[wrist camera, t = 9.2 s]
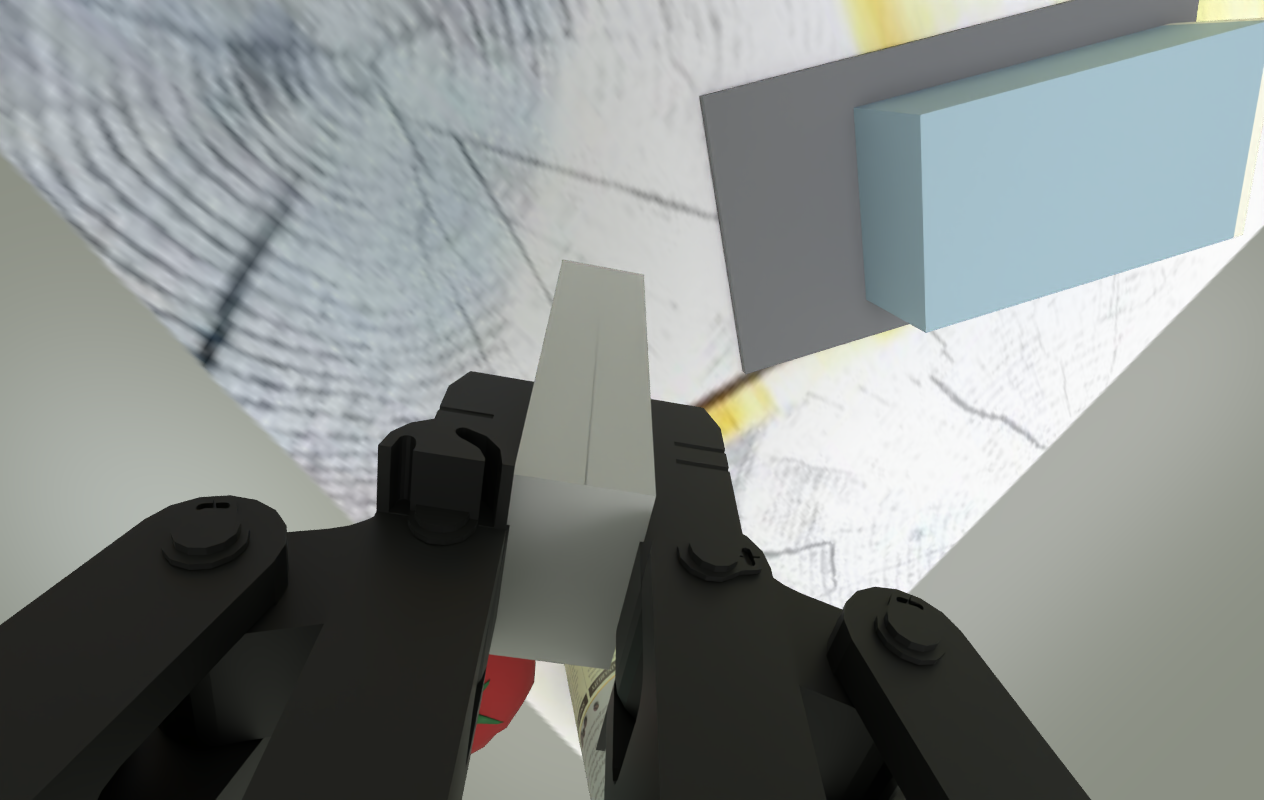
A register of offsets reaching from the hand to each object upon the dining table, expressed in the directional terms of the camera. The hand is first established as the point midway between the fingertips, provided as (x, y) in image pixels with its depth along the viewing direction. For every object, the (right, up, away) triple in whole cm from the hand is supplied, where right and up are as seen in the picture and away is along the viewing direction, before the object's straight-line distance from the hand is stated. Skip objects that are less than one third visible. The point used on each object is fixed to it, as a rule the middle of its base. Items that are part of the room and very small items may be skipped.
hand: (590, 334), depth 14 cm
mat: (+16, +9, +21) cm, 28 cm away
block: (+12, +7, +18) cm, 22 cm away
